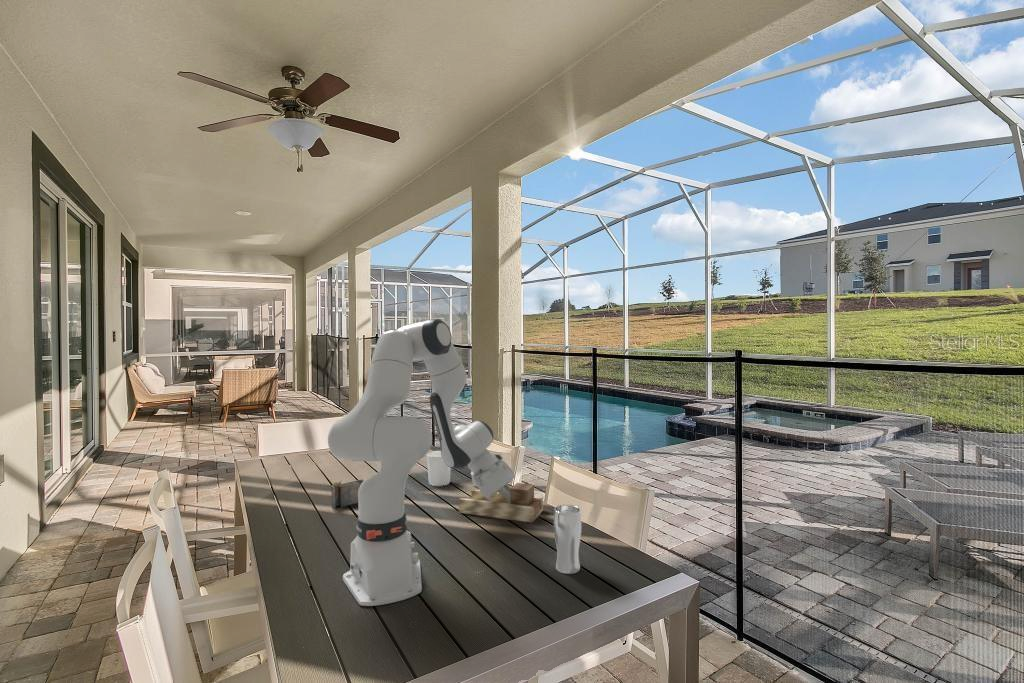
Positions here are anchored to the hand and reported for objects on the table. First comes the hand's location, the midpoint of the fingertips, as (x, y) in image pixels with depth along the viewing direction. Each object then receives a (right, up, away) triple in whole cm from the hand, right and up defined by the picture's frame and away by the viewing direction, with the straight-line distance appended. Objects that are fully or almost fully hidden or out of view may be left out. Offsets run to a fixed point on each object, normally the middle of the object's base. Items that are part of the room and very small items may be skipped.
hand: (512, 498), depth 158 cm
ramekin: (-11, -5, +31) cm, 33 cm away
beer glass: (+14, -5, -38) cm, 41 cm away
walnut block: (+3, -4, -1) cm, 5 cm away
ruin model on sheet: (-58, -6, +11) cm, 59 cm away
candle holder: (-29, -5, +34) cm, 45 cm away
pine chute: (-4, -5, +2) cm, 6 cm away
